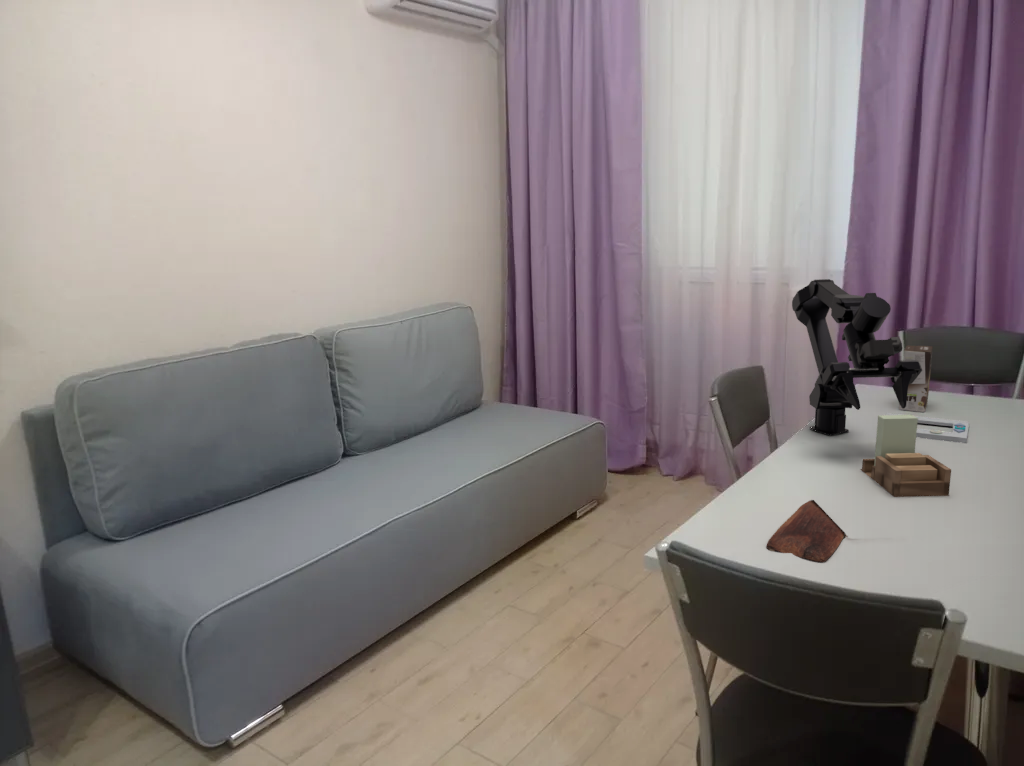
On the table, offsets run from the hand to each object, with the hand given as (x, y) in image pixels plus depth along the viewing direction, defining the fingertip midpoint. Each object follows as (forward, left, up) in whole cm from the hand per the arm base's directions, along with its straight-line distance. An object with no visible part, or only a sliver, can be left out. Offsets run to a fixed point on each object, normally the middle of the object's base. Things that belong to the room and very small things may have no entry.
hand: (881, 408), depth 153 cm
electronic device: (-14, +31, -14) cm, 37 cm away
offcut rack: (+10, -5, -13) cm, 17 cm away
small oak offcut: (+14, -6, -12) cm, 20 cm away
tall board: (+6, -3, -12) cm, 14 cm away
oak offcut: (+10, -5, -12) cm, 16 cm away
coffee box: (-29, +46, -13) cm, 56 cm away
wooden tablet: (+16, -33, -14) cm, 39 cm away
